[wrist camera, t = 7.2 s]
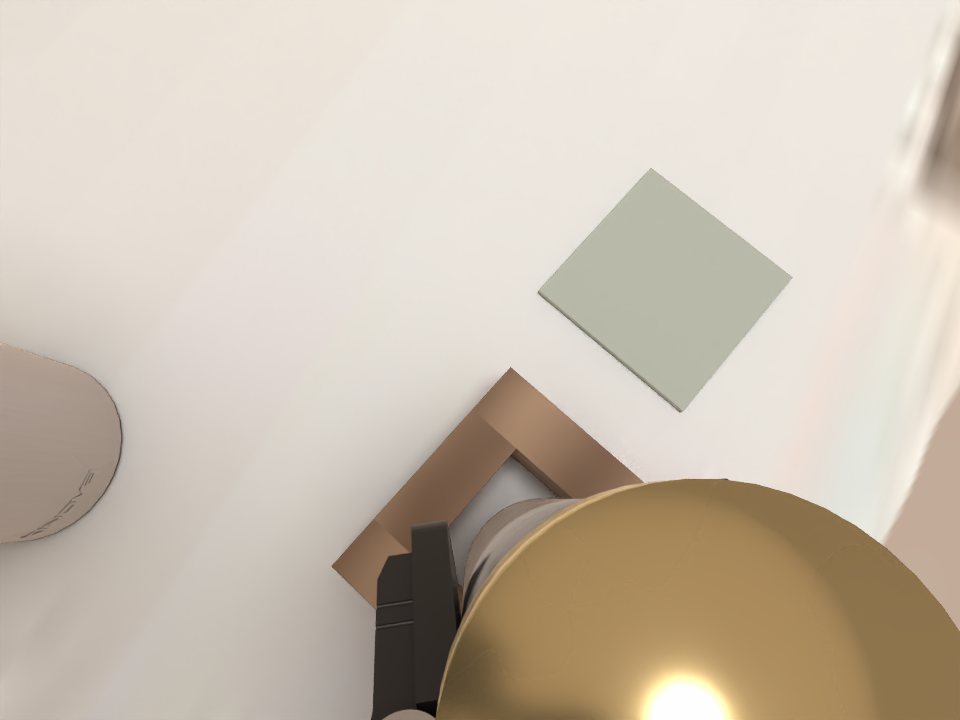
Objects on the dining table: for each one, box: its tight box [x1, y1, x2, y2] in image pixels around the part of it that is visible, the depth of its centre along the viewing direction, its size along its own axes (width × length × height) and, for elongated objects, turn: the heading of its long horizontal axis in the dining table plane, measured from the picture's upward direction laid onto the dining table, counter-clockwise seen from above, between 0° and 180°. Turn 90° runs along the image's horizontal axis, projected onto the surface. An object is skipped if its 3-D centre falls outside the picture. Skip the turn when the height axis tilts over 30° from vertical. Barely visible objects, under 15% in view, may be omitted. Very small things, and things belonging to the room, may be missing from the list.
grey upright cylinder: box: [436, 479, 960, 720], centre depth 12 cm, size 5×5×14 cm
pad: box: [538, 168, 793, 412], centre depth 34 cm, size 10×10×1 cm
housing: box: [332, 367, 644, 618], centre depth 29 cm, size 12×12×4 cm
